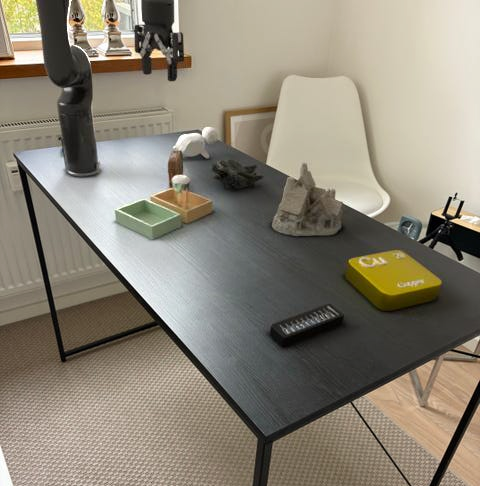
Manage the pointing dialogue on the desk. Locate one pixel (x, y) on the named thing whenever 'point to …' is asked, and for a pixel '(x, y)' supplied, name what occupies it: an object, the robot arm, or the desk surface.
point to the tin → (175, 165)
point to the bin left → (148, 218)
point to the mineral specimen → (235, 174)
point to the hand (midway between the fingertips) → (159, 77)
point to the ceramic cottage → (307, 208)
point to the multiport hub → (306, 325)
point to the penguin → (196, 142)
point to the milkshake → (181, 190)
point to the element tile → (392, 280)
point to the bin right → (196, 205)
